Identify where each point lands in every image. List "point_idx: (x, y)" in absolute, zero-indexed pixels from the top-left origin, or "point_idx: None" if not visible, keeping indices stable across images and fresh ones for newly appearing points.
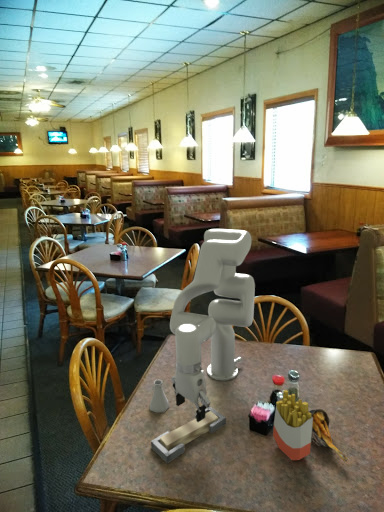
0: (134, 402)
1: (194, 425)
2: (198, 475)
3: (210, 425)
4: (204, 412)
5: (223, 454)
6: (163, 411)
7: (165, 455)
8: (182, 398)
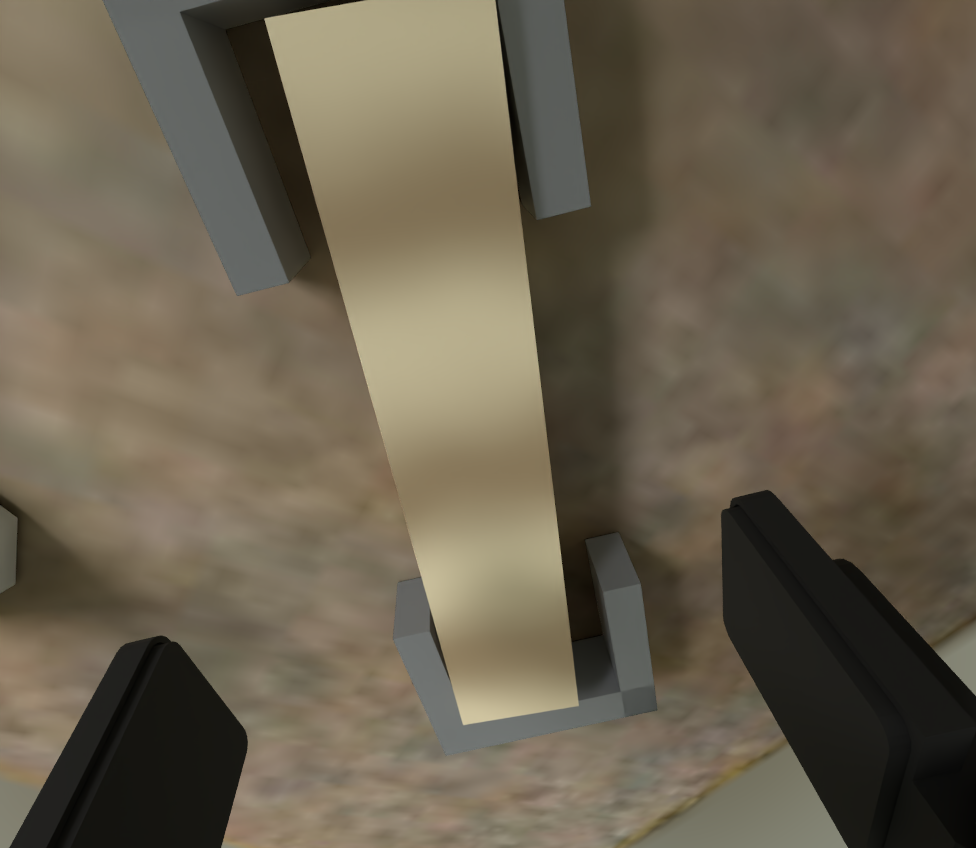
0: None
1: (472, 420)
2: (869, 526)
3: (556, 208)
4: (941, 669)
5: (885, 241)
6: (11, 530)
7: (638, 711)
8: (150, 789)
